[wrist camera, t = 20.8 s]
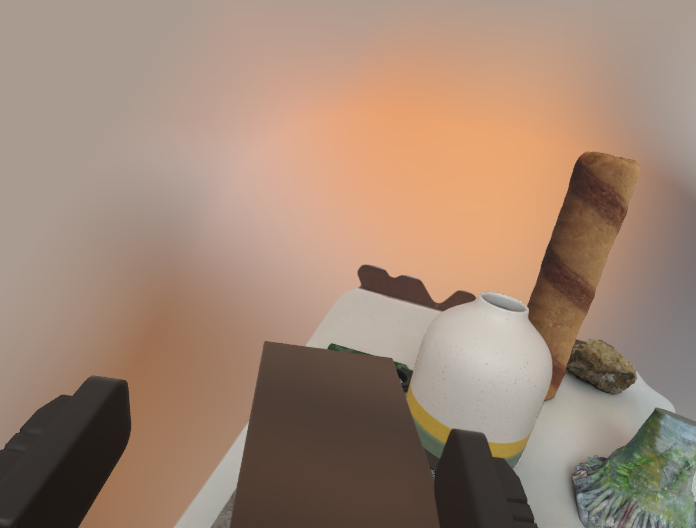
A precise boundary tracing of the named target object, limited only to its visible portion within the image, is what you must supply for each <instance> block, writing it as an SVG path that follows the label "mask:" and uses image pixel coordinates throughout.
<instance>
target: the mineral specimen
mask: <svg viewBox="0 0 696 528" xmlns="http://www.w3.org/2000/svg"><path fill="white" fill-rule="evenodd" d="M586 344H587V345H584V344H582V346H583V347H582V348H584V349H581V348H580V349H579V348H578V347H579V346H580V345H576V344H575V343H574V346H573V348H572V351H571V355H570V358H569V361H568V363H567V366H566V369H567V370H570V371H571V372H573V373H574V374H575V375H576V376H578V377H580V378H582V379H583V380H585V381H586V380H587V381H589V382H591V384H593V385H595V386H596V387H597V388H598V389H600V390H604V391H606V392H610V393H617V394H618V393H621V392H622V390H625V389H626V388H628V387H629V386H630V385H631V384H634V383H635V380H636V379H637V377H636V369H634V367H632V363H631V362H628V361H627V360H626V358H624V357H623V356H622V355H621V354H620V353H618V352H617V351H616V350H615V349H614V347H612V346H611V345H608V344H607V343H606V342H604V341H602V340H597V341H596V340H592V339H589V340H588V341H586Z"/></svg>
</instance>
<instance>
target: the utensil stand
mask: <svg viewBox="0 0 696 528" xmlns="http://www.w3.org/2000/svg"><path fill="white" fill-rule="evenodd" d="M229 528H440V525H439V519H438V513H437V507H436V501H435V493H434V478H433V475H432V472H431V469H430V466H429V463H428V460H427V458H426V455H425V452H424V449H423V446H422V443H421V440H420V437H419V434H418V431H417V428H416V426H415V423H414V420H413V417H412V414H411V411H410V408H409V405H408V402H407V399H406V396H405V394H404V391H403V388H402V385H401V382H400V379H399V376H398V373H397V370H396V367H395V364H394V362H393V359H392V358H386V357H379V356H371V355H364V354H357V353H349V352H342V351H335V350H327V349H320V348H312V347H305V346H297V345H290V344H283V343H275V342H268V341H265V342H264V346H263V351H262V356H261V362H260V367H259V373H258V378H257V383H256V388H255V394H254V399H253V405H252V410H251V415H250V420H249V425H248V431H247V436H246V441H245V447H244V452H243V457H242V463H241V468H240V473H239V478H238V484H237V489H236V494H235V500H234V505H233V510H232V516H231V521H230V526H229Z"/></svg>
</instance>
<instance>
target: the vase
mask: <svg viewBox="0 0 696 528" xmlns="http://www.w3.org/2000/svg"><path fill="white" fill-rule="evenodd" d="M528 313H529V309H528V307H527V306H526V305H525V304H524V303H522V302H520V301H519V300H517V299H515V298H512V297H510V296H507V295H504V294H500V293H495V292H481V293H480V294H479V295H478V297H477V298H476V300H475V301H473V302H469V303H466V304H462V305H458V306H455V307H452V308H450V309H447V310H445V311H444V312H442V313H441V314H439V315H438V316H437V317H436V318H435V319H434V320H433V322H432V323H431V324H430V326H429V327H428V329H427V331H426V333H425V335H424V338H423V340H422V344H421V347H420V350H419V353H418V357H417V360H416V364H415V367H414V371H413V374H412V378H411V381H410V385H409V389H408V392H407V396H406V399H407V402H408V405H409V408H410V411H411V414H412V417H413V420H414V423H415V426H416V428H417V431H418V434H419V437H420V440H421V443H422V446H423V449H424V452H425V455H426V458H427V460H428V463H429V466H430V467H431V468H432V469H434V470H435V471H436V469H437V466H438V463H439V460H440V457H441V455H442V452H443V449H444V446H445V444H446V441H447V438H448V435H449V433H450V431H451V430H452V429H453V428H455V429H462V430H469V431H476V432H482V433H484V434H485V436H486V438H487V441H488V444H489V447H490V450H491V453H492V456H493V457H499V458H504V459H505V460H506V462H507V463H508V464H509V465H510V467H511V468H513V467H514V466H515V465H516V463H517V462H518V460H519V458H520V456H521V454H522V452H523V450H524V448H525V446H526V443H527V441H528V439H529V436H530V434H531V431H532V429H533V427H534V424H535V422H536V419H537V417H538V415H539V412H540V410H541V407H542V405H543V402H544V400H545V397H546V395H547V392H548V389H549V386H550V383H551V378H552V358H551V354H550V350H549V348H548V346H547V344H546V342H545V341H544V339H543V338H542V336H541V335H540V333H539V332H538V331H537V330H536V329H535V327H534V326H533V325H532V324H531V322H530V321H529V319H528Z"/></svg>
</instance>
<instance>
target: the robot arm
mask: <svg viewBox="0 0 696 528" xmlns="http://www.w3.org/2000/svg"><path fill="white" fill-rule="evenodd" d="M130 432H131V416H130V403H129V391H128V383H127V382H126V381H125V380H121V379H114V378H107V377H100V376H91V377H89V378H88V379H87V380H86V381H85V382H84V383H83V384H82V386H81V387H80V388H79V389H78V390H77V391H76V392H75V394H74V395H73V396H68V395H60V396H59V397H57V398H56V399H54V400H52V401H51V402H49V403H48V404H46V405H44V406H43V407H41V408H40V409H38V410H37V411H36V412H35V413H34V414H33V415H32V417H31V418H30V419H29V420H28V421H27V422H26V423H25V424H24V425H23V426H22V428H21V429H20V432H19V433H16V434H15V435H14V436H13V437H12V438H11V439H10V441H9V442H8V443H7V444H6V445H5V448H4V449H3V450H0V528H78V527H79V525H80V524H81V522H82V520H83V519H84V517H85V515H86V514H87V512H88V510H89V509H90V507H91V505H92V504H93V502H94V500H95V499H96V497H97V495H98V494H99V492H100V490H101V489H102V487H103V485H104V484H105V482H106V481H107V479H108V477H109V476H110V474H111V472H112V470H113V469H114V467H115V465H116V464H117V462H118V461H119V459H120V457H121V455H122V454H123V452H124V450H125V448H126V446H127V443H128V440H129V437H130ZM434 493H435V501H436V507H437V513H438V519H439V525H440V528H538V527H537V524H536V523H534V516H533V514H532V511H531V508H530V506H529V505H528V504H527V498H526V495H525V492H524V490H523V487H522V484H521V481H520V479H519V477H518V476H517V475H516V473H515V472H514V471H513V469H512V468H511V467H510V465H509V464H508V463H507V462H506V460H505V459H504V458H499V457H493V456H492V453H491V450H490V447H489V444H488V441H487V438H486V436H485V434H484V433H482V432H476V431H469V430H462V429H455V428H453V429H452V430H451V431H450V433H449V435H448V438H447V441H446V444H445V446H444V449H443V452H442V455H441V457H440V460H439V463H438V466H437V469H436V473H435V480H434Z"/></svg>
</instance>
